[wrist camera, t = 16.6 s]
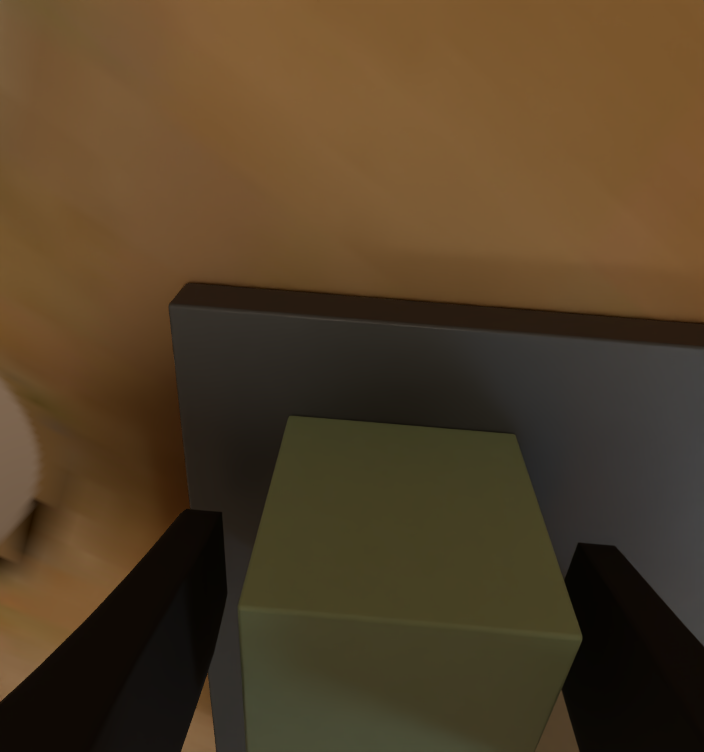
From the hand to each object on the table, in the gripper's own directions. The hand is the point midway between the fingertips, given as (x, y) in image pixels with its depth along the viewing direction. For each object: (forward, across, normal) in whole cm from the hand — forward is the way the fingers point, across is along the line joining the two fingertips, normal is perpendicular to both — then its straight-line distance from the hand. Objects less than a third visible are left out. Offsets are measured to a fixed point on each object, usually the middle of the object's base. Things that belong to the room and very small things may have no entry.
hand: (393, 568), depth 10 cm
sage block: (+1, 0, 0) cm, 1 cm away
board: (+2, -2, +3) cm, 4 cm away
